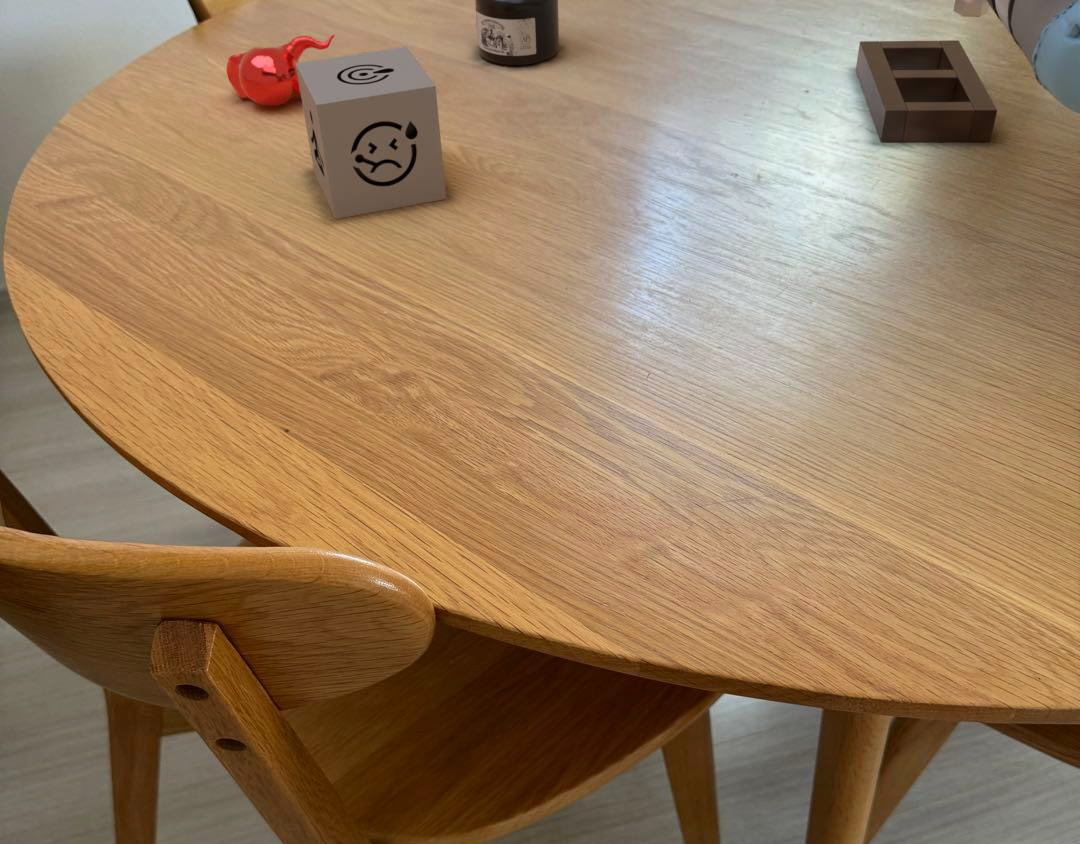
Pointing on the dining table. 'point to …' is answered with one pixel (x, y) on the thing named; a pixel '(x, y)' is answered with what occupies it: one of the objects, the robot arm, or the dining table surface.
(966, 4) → the screw
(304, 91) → the icon cube
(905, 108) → the brown divided frame
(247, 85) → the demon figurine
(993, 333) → the dining table surface
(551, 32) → the ink bottle
